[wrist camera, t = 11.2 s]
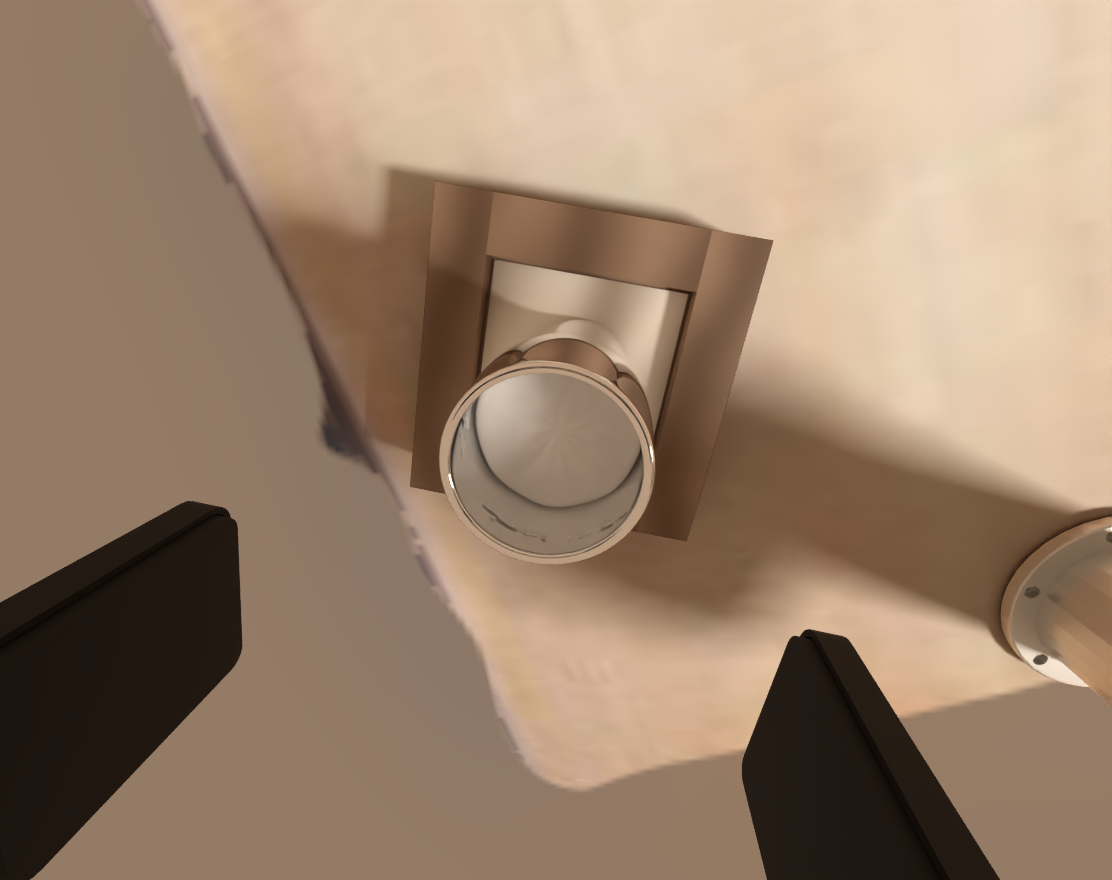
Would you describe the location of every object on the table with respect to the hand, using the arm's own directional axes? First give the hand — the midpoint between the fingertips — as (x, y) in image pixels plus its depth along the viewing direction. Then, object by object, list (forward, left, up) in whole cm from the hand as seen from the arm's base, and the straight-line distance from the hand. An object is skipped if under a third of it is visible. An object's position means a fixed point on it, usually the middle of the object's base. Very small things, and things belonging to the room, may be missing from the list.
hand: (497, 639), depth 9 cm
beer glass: (0, 0, -23) cm, 23 cm away
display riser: (0, 0, -26) cm, 26 cm away
